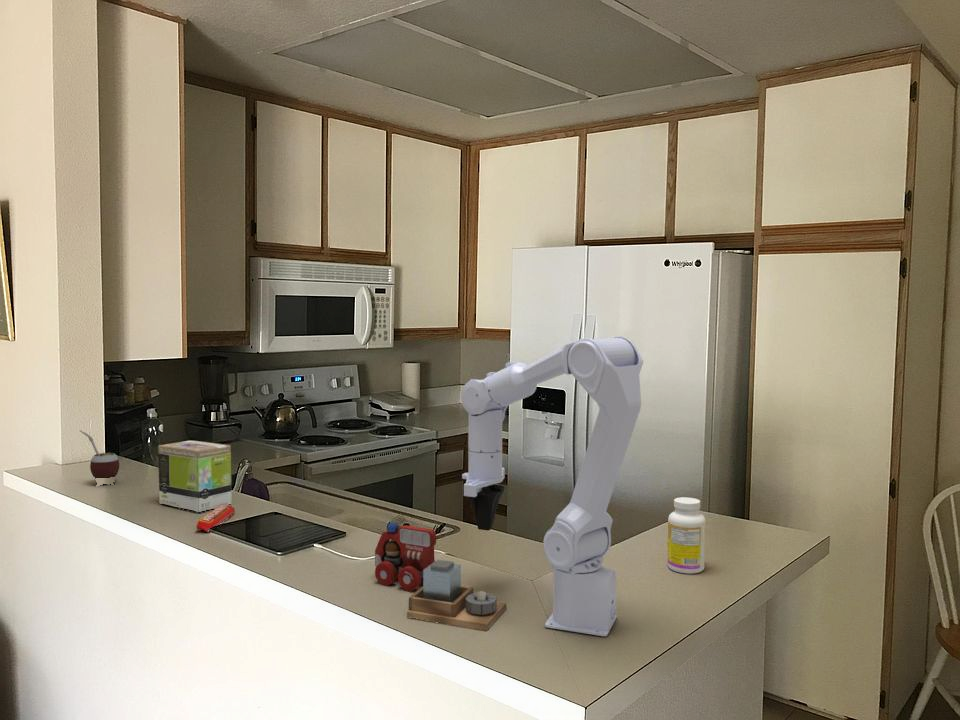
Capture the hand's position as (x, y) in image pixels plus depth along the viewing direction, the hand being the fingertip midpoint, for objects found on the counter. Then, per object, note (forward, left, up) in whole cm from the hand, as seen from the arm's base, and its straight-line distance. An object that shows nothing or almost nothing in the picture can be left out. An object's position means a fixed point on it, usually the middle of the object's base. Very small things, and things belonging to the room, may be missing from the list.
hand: (485, 528), depth 132 cm
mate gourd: (+121, -34, -11) cm, 126 cm away
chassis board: (0, +12, -10) cm, 16 cm away
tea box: (+84, -26, -11) cm, 89 cm away
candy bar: (+69, -15, -11) cm, 72 cm away
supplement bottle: (-31, -23, -11) cm, 40 cm away
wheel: (-4, +12, -9) cm, 15 cm away
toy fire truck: (+14, +2, -11) cm, 18 cm away
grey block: (+3, +11, -9) cm, 15 cm away
